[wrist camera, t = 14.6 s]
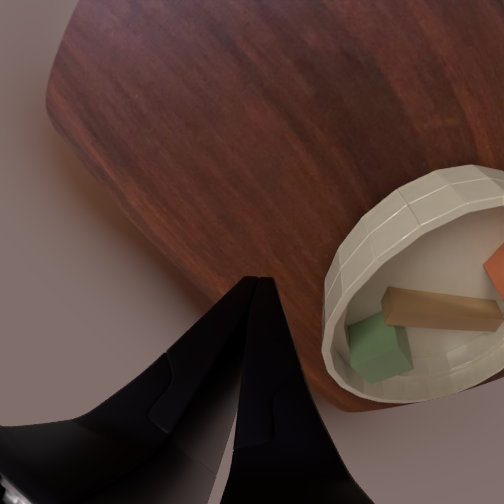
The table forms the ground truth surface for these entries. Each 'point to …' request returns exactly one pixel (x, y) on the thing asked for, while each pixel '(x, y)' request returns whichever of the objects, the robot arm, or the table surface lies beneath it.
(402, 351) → the sage block
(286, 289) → the table surface
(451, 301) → the long tan beam
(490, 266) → the terracotta block
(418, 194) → the bowl
